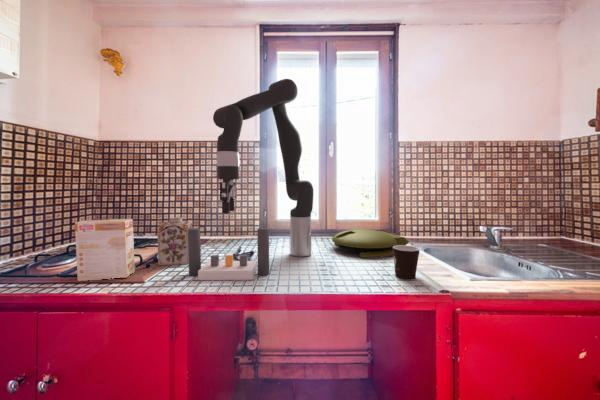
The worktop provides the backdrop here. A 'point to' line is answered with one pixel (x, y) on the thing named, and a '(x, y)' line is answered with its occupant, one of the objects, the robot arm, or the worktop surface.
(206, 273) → the switch panel
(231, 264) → the middle paddle
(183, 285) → the worktop surface
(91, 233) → the coffeecake box
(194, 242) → the post
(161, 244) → the decorative jar
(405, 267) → the coffee mug
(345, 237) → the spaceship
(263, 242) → the post
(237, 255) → the sunglasses
